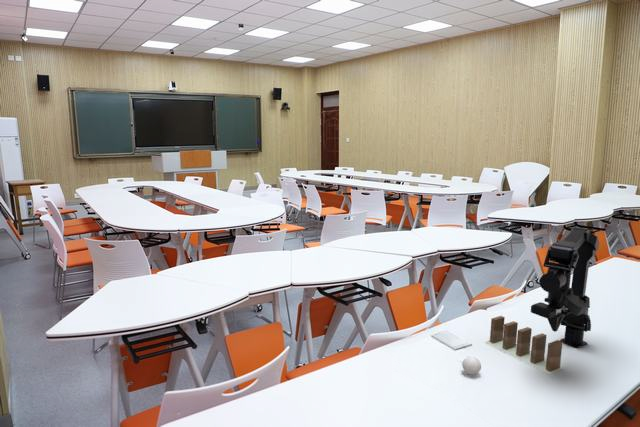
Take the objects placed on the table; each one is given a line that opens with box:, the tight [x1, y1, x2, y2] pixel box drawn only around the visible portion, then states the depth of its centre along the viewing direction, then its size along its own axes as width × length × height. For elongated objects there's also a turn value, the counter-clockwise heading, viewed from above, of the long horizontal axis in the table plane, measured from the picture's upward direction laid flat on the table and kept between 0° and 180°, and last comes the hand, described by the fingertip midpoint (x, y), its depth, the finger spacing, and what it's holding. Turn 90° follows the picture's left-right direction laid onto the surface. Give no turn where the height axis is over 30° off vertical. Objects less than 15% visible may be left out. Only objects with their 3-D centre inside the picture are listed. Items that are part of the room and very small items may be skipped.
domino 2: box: [502, 321, 519, 350], centre depth 158 cm, size 2×5×9 cm, turn 119°
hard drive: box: [430, 330, 473, 352], centre depth 164 cm, size 2×8×12 cm
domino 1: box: [489, 315, 505, 344], centre depth 163 cm, size 2×5×9 cm, turn 119°
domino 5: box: [546, 339, 564, 372], centre depth 144 cm, size 2×5×9 cm, turn 119°
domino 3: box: [516, 326, 533, 357], centre depth 153 cm, size 2×5×9 cm, turn 119°
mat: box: [484, 340, 566, 375], centre depth 154 cm, size 9×25×1 cm, turn 29°
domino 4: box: [530, 333, 547, 364], centre depth 148 cm, size 2×5×9 cm, turn 119°
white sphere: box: [459, 355, 482, 376], centre depth 142 cm, size 8×6×6 cm
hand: (554, 331), depth 143 cm, fingers closed
